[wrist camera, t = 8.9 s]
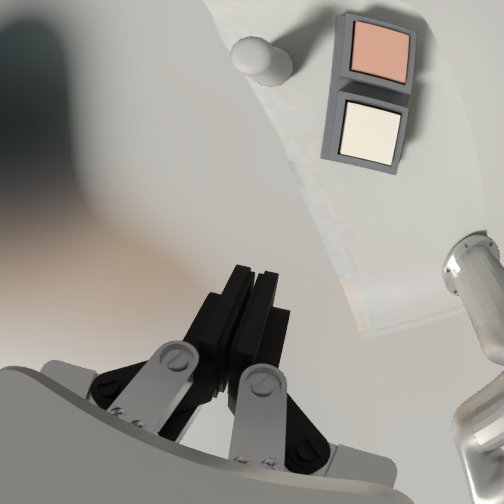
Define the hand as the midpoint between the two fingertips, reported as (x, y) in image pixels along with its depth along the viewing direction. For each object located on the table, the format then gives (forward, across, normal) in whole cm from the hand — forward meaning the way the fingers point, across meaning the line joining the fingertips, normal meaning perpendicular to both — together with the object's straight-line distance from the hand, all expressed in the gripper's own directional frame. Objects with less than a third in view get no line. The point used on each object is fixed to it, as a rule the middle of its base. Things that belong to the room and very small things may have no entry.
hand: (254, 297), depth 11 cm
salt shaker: (+31, +6, -11) cm, 33 cm away
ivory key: (+27, -7, -5) cm, 28 cm away
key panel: (+31, -7, -10) cm, 33 cm away
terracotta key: (+26, -7, -15) cm, 31 cm away
